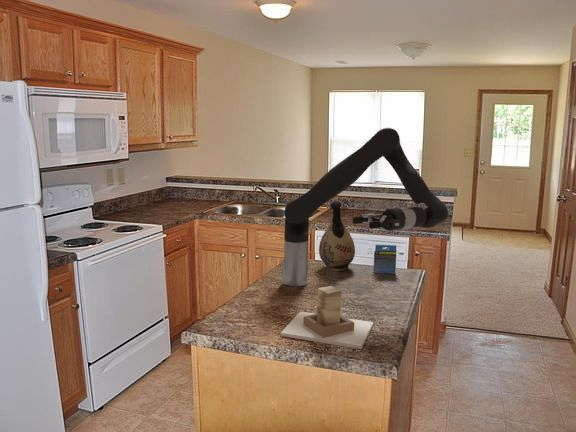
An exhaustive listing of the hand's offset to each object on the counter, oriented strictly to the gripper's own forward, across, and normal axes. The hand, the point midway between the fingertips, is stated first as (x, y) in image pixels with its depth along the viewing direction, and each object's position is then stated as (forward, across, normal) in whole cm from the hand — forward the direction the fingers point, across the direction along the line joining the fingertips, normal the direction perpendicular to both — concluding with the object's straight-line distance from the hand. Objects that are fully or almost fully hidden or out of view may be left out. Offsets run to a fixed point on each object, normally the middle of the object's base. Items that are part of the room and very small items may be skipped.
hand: (361, 223), depth 164 cm
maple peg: (+18, +9, +29) cm, 35 cm away
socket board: (+18, +9, +30) cm, 36 cm away
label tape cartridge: (-37, -30, +30) cm, 56 cm away
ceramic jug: (-22, -43, +30) cm, 57 cm away
